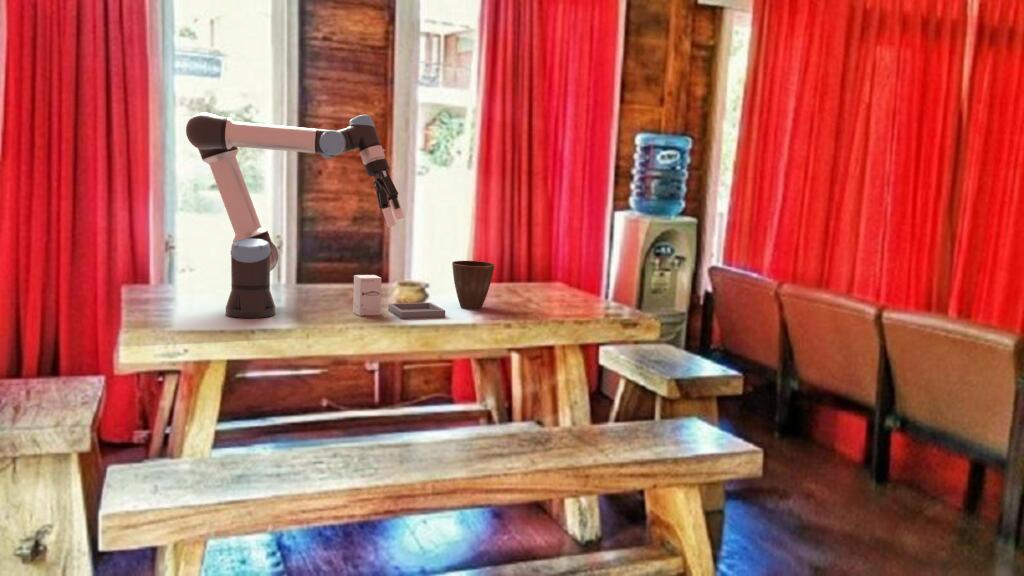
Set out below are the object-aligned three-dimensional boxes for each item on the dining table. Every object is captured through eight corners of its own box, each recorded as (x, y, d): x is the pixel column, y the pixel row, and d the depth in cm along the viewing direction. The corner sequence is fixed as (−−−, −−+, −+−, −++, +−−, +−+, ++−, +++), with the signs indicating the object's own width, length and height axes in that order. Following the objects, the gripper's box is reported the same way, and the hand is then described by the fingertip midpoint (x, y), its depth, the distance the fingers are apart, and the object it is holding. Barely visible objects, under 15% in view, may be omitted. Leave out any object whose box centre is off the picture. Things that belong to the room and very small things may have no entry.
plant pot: (484, 303, 296) (486, 260, 293) (498, 311, 282) (500, 266, 280) (445, 304, 291) (447, 260, 288) (457, 312, 277) (459, 266, 274)
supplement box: (359, 316, 261) (360, 278, 259) (352, 312, 268) (353, 274, 266) (381, 315, 265) (382, 277, 263) (374, 311, 271) (374, 274, 269)
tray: (401, 319, 260) (401, 312, 260) (388, 310, 273) (388, 303, 273) (445, 317, 266) (445, 310, 266) (430, 309, 280) (430, 302, 279)
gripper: (393, 148, 255) (414, 212, 255) (379, 168, 278) (399, 226, 278) (370, 154, 252) (392, 218, 252) (358, 173, 276) (378, 232, 276)
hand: (396, 222), depth 265 cm, fingers open, 13 cm apart
